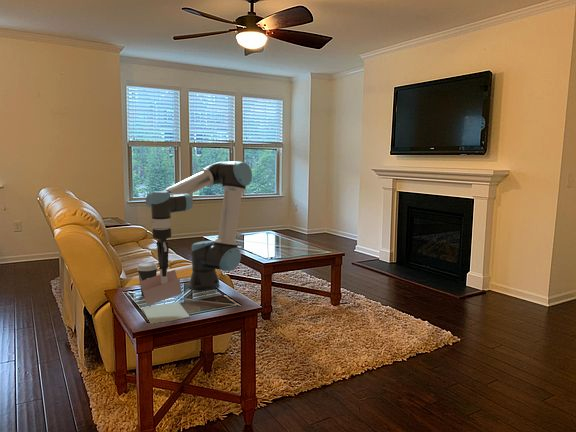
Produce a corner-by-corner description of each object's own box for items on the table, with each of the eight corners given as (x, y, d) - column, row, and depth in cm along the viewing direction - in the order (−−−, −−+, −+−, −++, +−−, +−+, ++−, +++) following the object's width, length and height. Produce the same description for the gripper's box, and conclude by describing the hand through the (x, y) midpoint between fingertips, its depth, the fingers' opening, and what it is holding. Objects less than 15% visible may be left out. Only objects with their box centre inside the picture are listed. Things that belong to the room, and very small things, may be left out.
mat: (142, 308, 196) (142, 307, 196) (178, 303, 203) (178, 302, 203) (150, 324, 178) (150, 323, 178) (189, 317, 186) (189, 316, 185)
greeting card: (146, 305, 188) (181, 293, 194) (149, 311, 181) (185, 298, 187) (139, 280, 185) (174, 269, 191) (141, 286, 178) (178, 273, 184)
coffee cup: (142, 298, 209) (141, 267, 207) (135, 293, 216) (133, 263, 214) (162, 294, 215) (160, 264, 213) (154, 290, 222) (152, 260, 220)
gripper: (149, 226, 189) (152, 280, 193) (155, 231, 178) (158, 288, 181) (167, 225, 193) (169, 278, 196) (174, 230, 181) (176, 286, 185)
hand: (164, 283), depth 189 cm, fingers closed
